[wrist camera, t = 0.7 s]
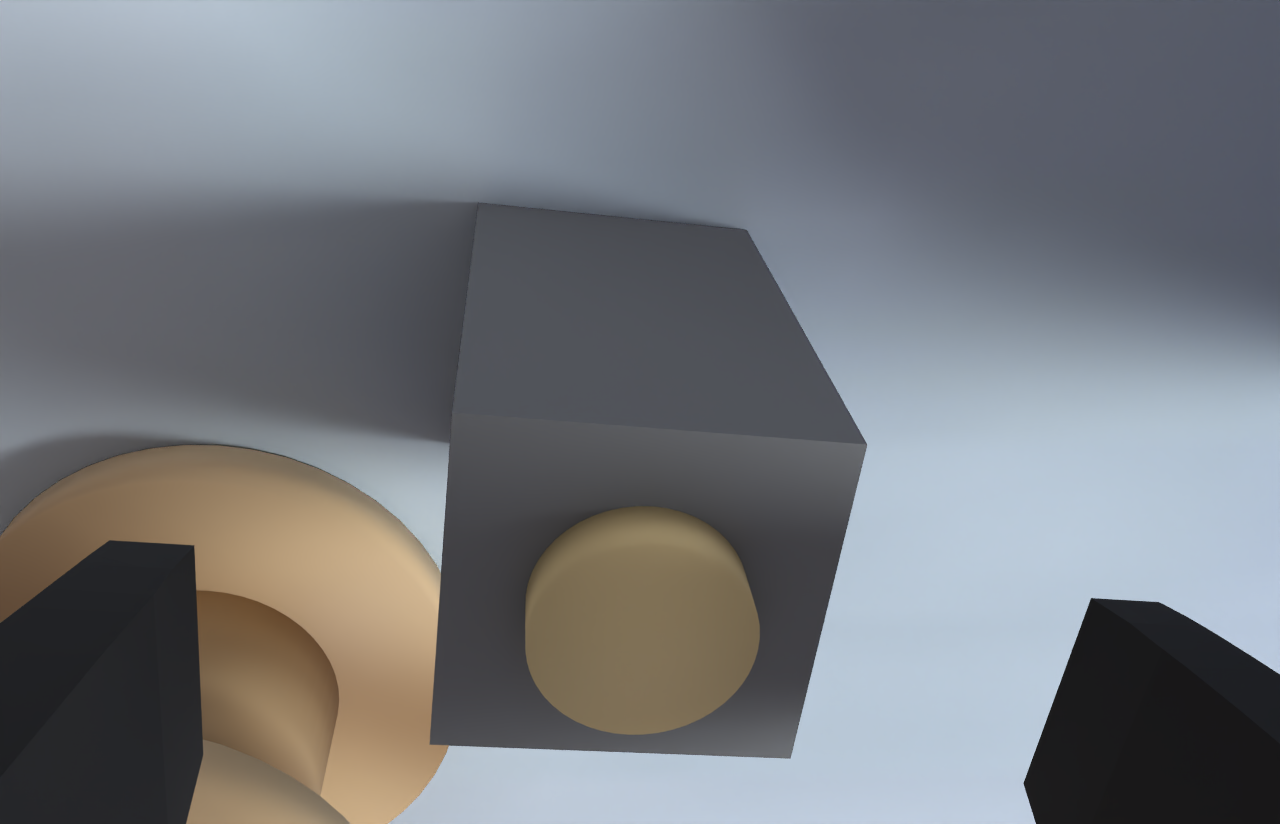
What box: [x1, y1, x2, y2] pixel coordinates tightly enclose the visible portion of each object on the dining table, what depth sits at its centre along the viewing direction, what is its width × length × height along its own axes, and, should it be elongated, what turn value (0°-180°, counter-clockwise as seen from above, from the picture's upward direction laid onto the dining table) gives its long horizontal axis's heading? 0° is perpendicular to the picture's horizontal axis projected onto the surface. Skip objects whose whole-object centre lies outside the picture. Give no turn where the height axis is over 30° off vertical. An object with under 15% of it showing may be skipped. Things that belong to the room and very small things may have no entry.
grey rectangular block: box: [429, 203, 867, 758], centre depth 13 cm, size 4×4×7 cm
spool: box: [0, 445, 449, 824], centre depth 15 cm, size 7×7×6 cm
